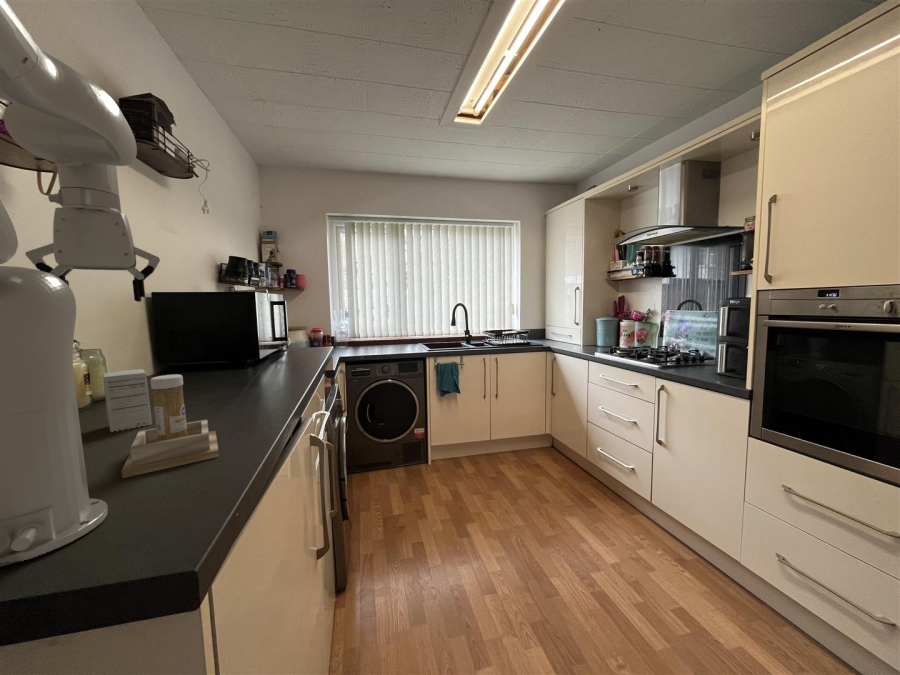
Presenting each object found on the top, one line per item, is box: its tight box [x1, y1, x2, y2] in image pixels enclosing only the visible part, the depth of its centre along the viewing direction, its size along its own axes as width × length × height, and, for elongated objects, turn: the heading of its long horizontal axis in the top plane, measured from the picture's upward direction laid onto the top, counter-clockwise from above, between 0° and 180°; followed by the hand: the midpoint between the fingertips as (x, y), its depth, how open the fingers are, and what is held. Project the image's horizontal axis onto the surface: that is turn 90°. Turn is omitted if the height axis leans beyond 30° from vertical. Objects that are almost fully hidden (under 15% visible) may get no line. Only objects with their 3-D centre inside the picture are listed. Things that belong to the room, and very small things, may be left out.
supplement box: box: [102, 368, 152, 433], centre depth 84 cm, size 7×7×13 cm
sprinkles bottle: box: [150, 374, 188, 442], centre depth 65 cm, size 5×5×14 cm
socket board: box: [121, 419, 220, 479], centre depth 66 cm, size 13×13×4 cm
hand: (103, 301), depth 66 cm, fingers open, 9 cm apart
